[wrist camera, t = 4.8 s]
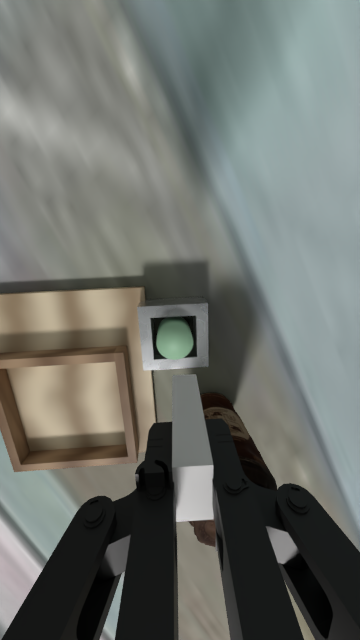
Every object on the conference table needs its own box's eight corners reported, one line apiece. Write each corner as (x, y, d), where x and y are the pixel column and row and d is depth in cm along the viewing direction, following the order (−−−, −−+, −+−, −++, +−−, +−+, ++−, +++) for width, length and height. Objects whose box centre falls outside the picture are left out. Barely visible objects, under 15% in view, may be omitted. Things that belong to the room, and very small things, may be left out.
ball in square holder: (202, 296, 26) (207, 303, 23) (203, 352, 28) (208, 366, 25) (141, 299, 26) (137, 306, 22) (146, 356, 28) (143, 370, 24)
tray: (144, 286, 25) (141, 290, 22) (158, 444, 32) (157, 464, 29) (-23, 294, 25) (-48, 300, 22) (25, 454, 31) (11, 475, 28)
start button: (189, 314, 25) (192, 324, 22) (190, 344, 26) (193, 358, 23) (156, 316, 25) (154, 326, 22) (159, 346, 26) (157, 360, 23)
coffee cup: (169, 392, 29) (169, 495, 17) (231, 374, 29) (278, 466, 17) (186, 443, 32) (198, 566, 19) (244, 428, 32) (294, 543, 19)
